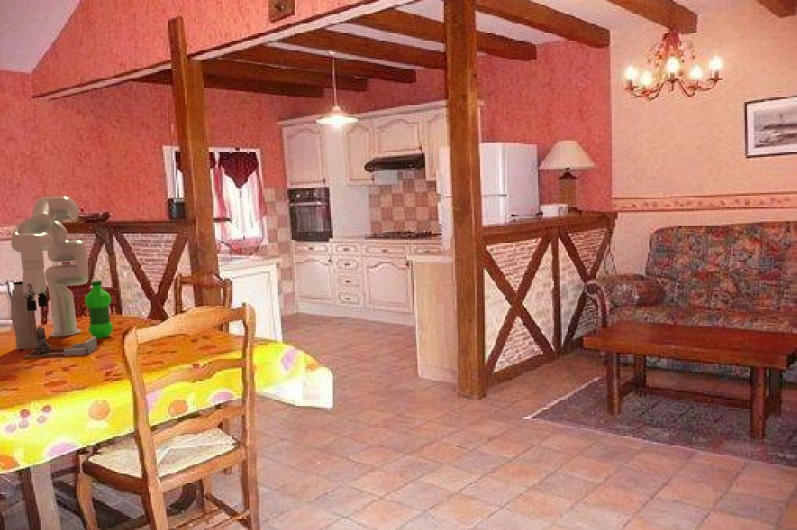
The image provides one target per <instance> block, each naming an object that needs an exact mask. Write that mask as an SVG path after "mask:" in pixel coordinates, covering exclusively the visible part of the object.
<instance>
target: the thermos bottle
mask: <svg viewBox="0 0 797 530" xmlns="http://www.w3.org/2000/svg"><path fill="white" fill-rule="evenodd" d="M11 293H12V295H10V302H11V311H12V319H13V326H14V327H13V328H14V337H15V344H16V346H15V347H16V350H18V349H25V350H30V349H29V348H32V349H35V348H34V347H35V346H37V343H38V342H37V338H36V337H37V331H36V330H37V329H38V327H37V321H36V320H37V319H36V313H35V311H28V310H27V301H26V298H25V295H24V293H23V280H22V281H21V280H20V281H14V282H13V289H12V290H11Z"/></svg>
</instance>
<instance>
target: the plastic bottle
mask: <svg viewBox="0 0 797 530" xmlns="http://www.w3.org/2000/svg"><path fill="white" fill-rule="evenodd" d="M102 285H103V282H102V280H100V279H97V280H91V281H90V286H91V287H92V289H91V290H90V291H89V292H88V293H87V294H86V295H85V297H84V304H85V306H86V307H87V308H88V313H89V314H88V315H89V322H90V324H89V326H88V332H89V334H90V336H92V337H96V339H104V338H103V337H105V338H108V337H109V336H110V335H111V334H112V332H113V330H114V325H113V323H112V322H111V317H110V316H111V314H110V308H109V307H110V304H111V303H112V296H111V294H110V292H107V291H106V290H104V289H103V288H102ZM107 336H108V337H107Z"/></svg>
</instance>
